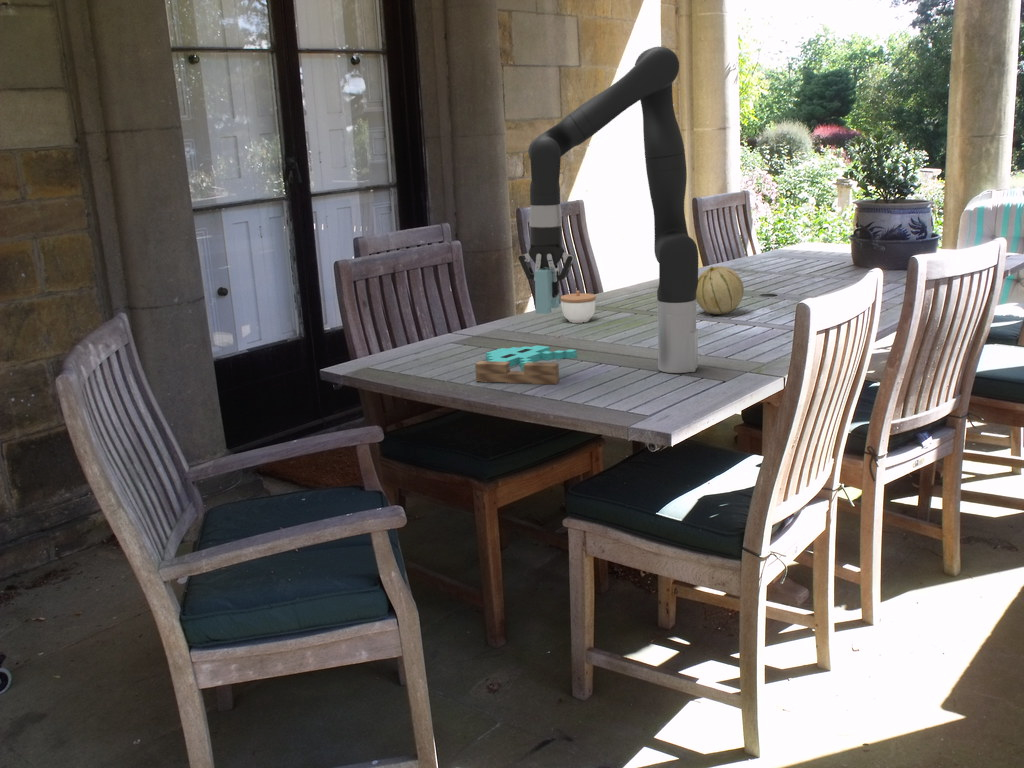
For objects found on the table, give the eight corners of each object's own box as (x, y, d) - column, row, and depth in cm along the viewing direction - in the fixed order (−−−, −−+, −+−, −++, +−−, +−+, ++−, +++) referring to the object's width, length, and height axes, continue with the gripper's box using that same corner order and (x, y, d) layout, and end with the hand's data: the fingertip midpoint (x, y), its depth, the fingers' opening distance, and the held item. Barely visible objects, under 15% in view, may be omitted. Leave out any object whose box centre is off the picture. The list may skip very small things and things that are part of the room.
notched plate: (559, 306, 247) (558, 265, 245) (548, 313, 238) (547, 271, 235) (547, 305, 248) (546, 265, 246) (535, 313, 239) (534, 271, 236)
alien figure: (576, 358, 267) (517, 351, 279) (576, 350, 266) (517, 343, 279) (529, 375, 252) (469, 366, 264) (529, 366, 251) (468, 358, 264)
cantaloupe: (752, 312, 312) (753, 263, 308) (726, 320, 302) (727, 270, 298) (711, 307, 322) (711, 260, 318) (685, 315, 312) (684, 267, 308)
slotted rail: (559, 381, 243) (558, 362, 242) (555, 384, 240) (555, 366, 239) (480, 378, 249) (479, 361, 248) (476, 382, 246) (475, 364, 245)
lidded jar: (602, 321, 310) (602, 291, 308) (572, 326, 306) (570, 295, 303) (585, 316, 320) (584, 286, 317) (555, 320, 315) (554, 290, 313)
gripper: (578, 222, 239) (579, 295, 244) (521, 222, 244) (523, 293, 248) (570, 225, 232) (571, 300, 237) (512, 225, 237) (514, 299, 241)
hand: (547, 296), depth 242 cm, fingers closed on notched plate, 3 cm apart
